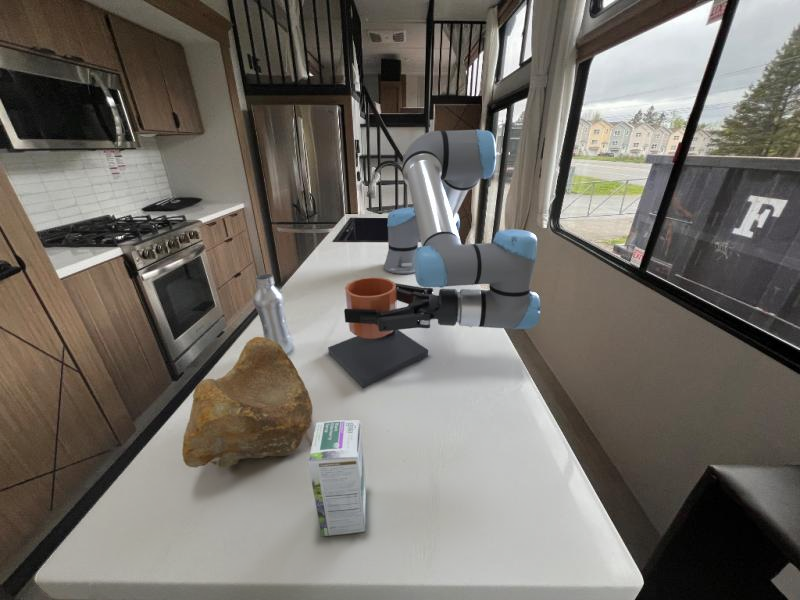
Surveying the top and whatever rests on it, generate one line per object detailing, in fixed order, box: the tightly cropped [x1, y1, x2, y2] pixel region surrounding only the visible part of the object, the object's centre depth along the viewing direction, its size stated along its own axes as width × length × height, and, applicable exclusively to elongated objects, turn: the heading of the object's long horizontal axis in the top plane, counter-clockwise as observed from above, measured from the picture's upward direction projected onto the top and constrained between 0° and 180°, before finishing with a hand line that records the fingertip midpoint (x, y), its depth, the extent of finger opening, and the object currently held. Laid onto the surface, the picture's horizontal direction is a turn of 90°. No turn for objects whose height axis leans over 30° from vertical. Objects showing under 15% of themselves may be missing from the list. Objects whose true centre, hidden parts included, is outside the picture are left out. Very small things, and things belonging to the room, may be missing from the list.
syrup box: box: [307, 419, 367, 537], centre depth 41 cm, size 6×6×14 cm
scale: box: [327, 330, 429, 390], centre depth 77 cm, size 18×16×4 cm
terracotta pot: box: [344, 276, 398, 339], centre depth 69 cm, size 10×10×10 cm
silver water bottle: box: [252, 273, 294, 355], centre depth 75 cm, size 6×7×20 cm
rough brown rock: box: [181, 336, 313, 470], centre depth 54 cm, size 23×17×15 cm
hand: (352, 303), depth 69 cm, fingers closed on terracotta pot, 10 cm apart
